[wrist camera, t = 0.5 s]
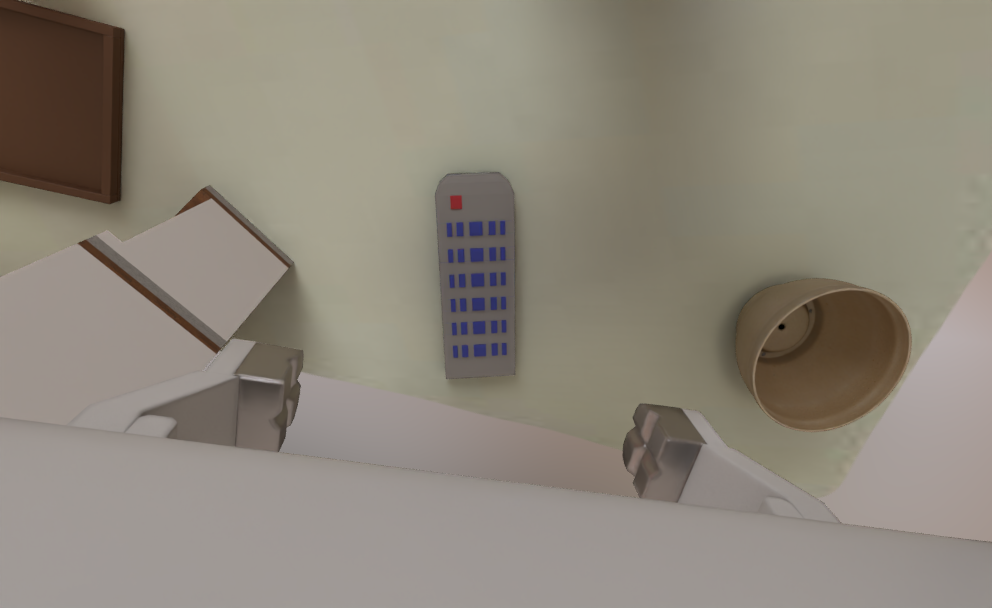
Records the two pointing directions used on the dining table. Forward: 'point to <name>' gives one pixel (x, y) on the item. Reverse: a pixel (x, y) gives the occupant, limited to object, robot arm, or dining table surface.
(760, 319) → the planter bowl
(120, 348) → the two-tier shelf stand
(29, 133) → the serving tray
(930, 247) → the dining table surface
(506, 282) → the remote control
